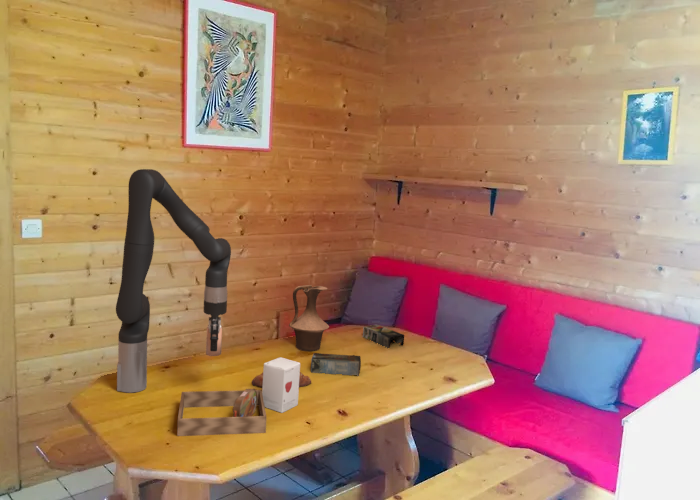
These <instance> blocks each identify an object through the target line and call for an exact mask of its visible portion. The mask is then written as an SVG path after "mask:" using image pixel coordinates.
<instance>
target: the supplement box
mask: <svg viewBox="0 0 700 500" xmlns="http://www.w3.org/2000/svg"><path fill="white" fill-rule="evenodd" d="M300 372H301V362H298V361H295V360H291V359H288V358H284V357H281V356H280V357H277V358H274V359H272V360H269V361H266V362H264V363H263V371H262V373H263V387H262V388H261V390H262V395H263V401H264V406H265V409H266V408H267V409H269V410H271V411H275V412H278V413H281V414H282V413H283V414H284V413H285V412H287V411H288V410H292V409H293V408H295V407H296V406H298V405H299V390H300V389H299V388H300V387H299V376H300Z"/></svg>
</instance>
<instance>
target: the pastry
mask: <svg viewBox="0 0 700 500" xmlns="http://www.w3.org/2000/svg"><path fill="white" fill-rule="evenodd" d="M251 384H252V386H253V387H257V388H261V389H262V387H263V372H262V373H260V374H258V375H256V376H255V377H253V379H252V380H251ZM311 384H312V380H311V378H310V376H308V375H305V374H303V373H302V372H301V371H300V376H299V388H304V387H308V386H309V385H311Z"/></svg>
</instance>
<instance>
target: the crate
mask: <svg viewBox="0 0 700 500" xmlns="http://www.w3.org/2000/svg"><path fill="white" fill-rule="evenodd" d="M245 390H246V389H245ZM245 390H212V391H211V390H210V391H209V390H207V391H203V390H202V391H201V390H200V391H181V395H180V401H179V408H178V409H179V410H178V416H177V434H176V435H177V436H176V437H186V436H216V435H219V436H220V435H240V434H241V435H242V434H245V435H246V434H266V433H267V413H266V407H265V406H264V401H263V395H262V389H255V390H256V392H257V406H258V409H259V416H258V415H256V416H255V415H252V416H250V417H233V416H223V417H189V418H188V417H187V418H185V417H184V411H185V409H184V408H209V407H210V408H213V407H214V408H215V407H233V406H234V403H235V401H236V399H237V398H238V397H239V396H240V395H241V394H242V393H243V392H244V391H245ZM183 417H184V418H183Z"/></svg>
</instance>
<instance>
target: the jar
mask: <svg viewBox="0 0 700 500" xmlns="http://www.w3.org/2000/svg"><path fill="white" fill-rule="evenodd" d="M212 336H217V335H216V334H212ZM210 337H211V334H210V333H209V324H207V327H206V342H205V343H206V344H205V345H206V346H205V355H206V356H210V357H218V356H220V355H222V342H223V341H222V340H223V339H222V338H223V326H222V324H220V332H219V333H218V341H217V351H210V346H211V340H210Z"/></svg>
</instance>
